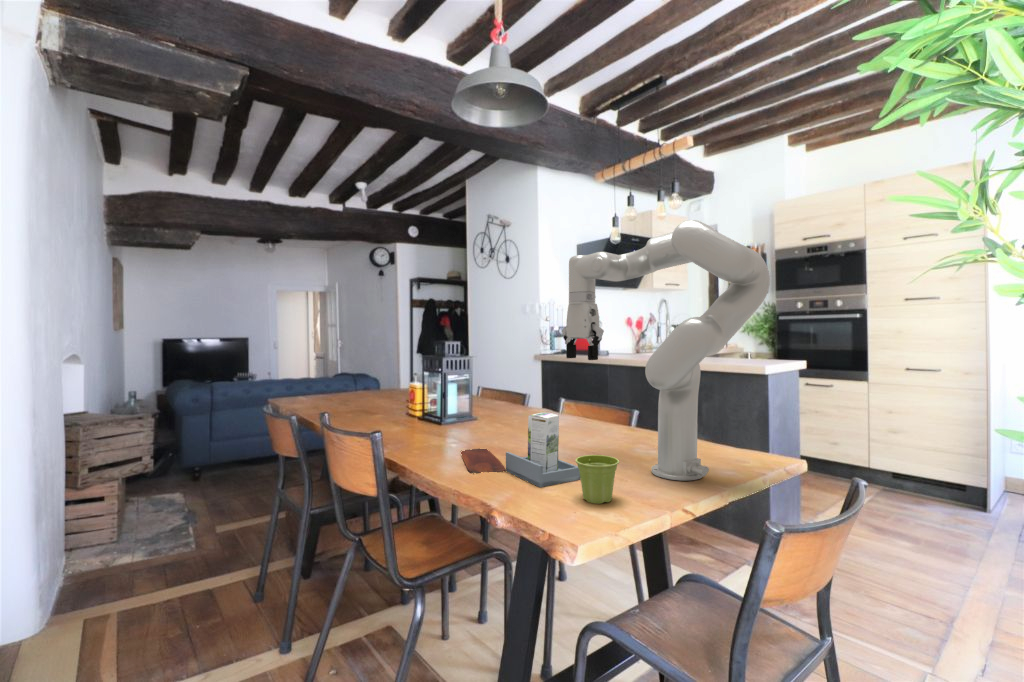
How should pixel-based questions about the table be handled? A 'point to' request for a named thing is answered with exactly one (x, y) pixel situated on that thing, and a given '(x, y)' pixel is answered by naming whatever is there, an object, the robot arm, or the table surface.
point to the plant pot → (597, 477)
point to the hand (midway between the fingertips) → (581, 359)
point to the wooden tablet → (481, 461)
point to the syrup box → (543, 440)
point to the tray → (540, 471)
